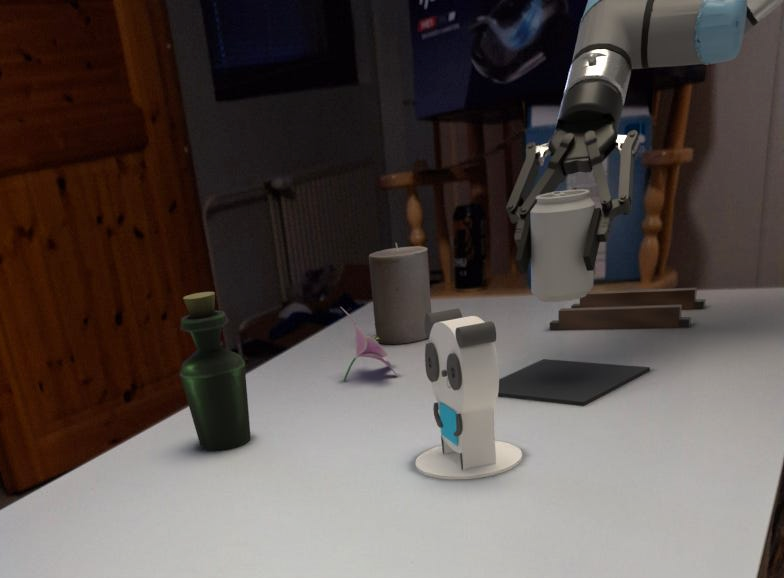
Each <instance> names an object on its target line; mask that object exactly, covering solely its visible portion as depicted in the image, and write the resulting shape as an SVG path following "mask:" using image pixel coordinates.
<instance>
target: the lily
mask: <svg viewBox="0 0 784 578" xmlns="http://www.w3.org/2000/svg"><path fill="white" fill-rule="evenodd" d="M340 309H341V310H342V311H343V312H344V313H345V314H346V315H347V316H348V318H349V320H350V322H351V323H352V325H353V326H354V331H355V356H354V357H353V359H352V361H351V362H350V363H349V366H348V368H347V371H346V373H345V375H344V378H343V380H342V381H343V382H346V380H347V378H348V375H349V373H350V370H351V368H352V366H353V364H354V363H355V362H356V360H357V359H358V358H359V357H360V358H361V357H362V358H371V359H375V360H378V361H381V362H382V363H383V364H384V365H386V366H387V367H388V368H389V369H390V370H391V371H392V372H393V373H394V374H395V375H397V373H396V371H395V370H394V369H393V367H392V364H391V362H390V361H389V360H387V359H386V358H385V357H387V356H388V353H387V351H385V349H384V348H383V346H382V345H381V343H378V342H379V341H376V340H377V338H378V339H380V338H379V337H377V338H376V334H373V337H372V336H370V335H365V334H364V333H363V331H362V330H361V329H360V328H359V327H358V326H357V323H356V322H355V320H354V318H353V316H352V315H350V314H349V313H348V311H346V310H345V309H344V308H343V307H342V306H340Z"/></svg>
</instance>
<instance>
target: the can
mask: <svg viewBox="0 0 784 578" xmlns="http://www.w3.org/2000/svg"><path fill="white" fill-rule="evenodd" d="M590 193H591V191H590V190H589V189H582V188H581V189H569V190H559V191H557V190H555V191H554V192H551V193H546V194H542V195H539V196H537V197H536V199H537V203H536V204H535V206H534V207H533V209H532V210H531V211H530V220H531V257H530V291H531V292H530V293H531V294H532V295H533V296H534V297H536V299H537V300H538V301H540V302H545V303H561V302H569V301H576V300H580V298H583V297H585V296H586V295H587V293H588V292H591V290H592V289H593V288H594V286H595V285H594V284H595V283H594V280H595V279H594V278H595V269H594V270H593V271H587V269H586V266H585V263H584V259H583V254H584V250H585V245H586V241H587V237H588V232H589V228H590V224H591V220H592V215H593V212H594V208H596V203H595V202H594V200H593V199H591V197H590V196H589V194H590Z"/></svg>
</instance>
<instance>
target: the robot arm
mask: <svg viewBox="0 0 784 578" xmlns="http://www.w3.org/2000/svg"><path fill="white" fill-rule="evenodd" d="M782 3H784V0H587V3H586V6H585V9H584V11H583V15H582V17H581V19H580V23H579V26H578V33H577V38H576V43H575V47H574V50H573V55H572V60H571V63H570V68H569V71H568V75H567V80H566V83H565V88H564V91H563V97H562V100H561V103H560V107H559V111H558V115H557V120H556V124H555V128H554V129H555V130H554V133H553V134H552V136H551V137H550V139H549V140H548V142H547V143H542V144H540V145H539V144H538V145H537V144H536V142H534V141H530V142H528V143H527V144H526V145H525V159H524V162H523V164H522V167H521V169H520V172H519V174H518V177H517V179H516V182H515V184H514V186H513V189H512V191H511V193H510V197H509V199H508V202H507V204H506V207H505V211H506V212H507V214H508V217H509V220H510V222H511V223H512V224H516V227H515V231H514V236H513V238H514V242H515V245H516V247H517V251H516V256H515V259H514V262H515V264H516V267H517V269H518V271H519V274H520V275H527V273H528V269H529V265H530V262H531V220H530V211H531V210H532V209H533V207H534V206H535V204H536V203H537V199H536V197H537V196H539V195H542V194H546V193H551V192H555V191H557V188H558V187H559V186H560V184H562V183H564V182H565V180H566V179H567V178H568V176H569V175H574V174H577V173H585V174H586V173H593V177H594V181H595V186H596V189H597V193H598V197H599V201H600V206H601V207H595V208H594V212H593V215H592V220H591V224H590V228H589V232H588V237H587V241H586V245H585V250H584V254H583V259H584V263H585V266H586V269H587V271H593V270H594V271H595V265H596V261H597V258H598V257H597V256H598V252H599V248H600V244H601V243H607V242H608V240H609V239H610V235H611V230H612V227H613V221H614V220H615V218H616V217H617V216H619V215H623V216H628V215H630V214H631V213H632V210H633V194H634V192H633V191H634V174H635V173H634V172H635V161H636V158H637V157H638V154H639V152H640V150H641V144H640V139H639V134H638V133H639V132H638V131H637V130H635V129H632V130H630V131H628V132H627V134H619V133H618V131H619V127H620V123H621V119H622V114H623V110H624V106H625V101H626V96H627V92H628V88H629V85H630V79H631V76H632V70H641V69H643V70H644V69H650V68H664V67H665V68H667V67H682V66H683V67H684V66H694V65H695V66H697V65H705V66H709V65H715V64H717V63H725V62H730V61H733V60H735V59H736V58H737V57H738V56H739V54H740V51H741V47H742V44H743V39H744V35H745V34H746V33H748V32H749V31H750V30H752V29H753V28H754V27H755V26H756V25H757V24H758V23H759V22H761V21H762V20H763V19H764V18H766V17H767V16H768V15H769V14H770V13H772V12H773V11H774V10H775V9H776V8H778V7H779V6H780V5H781V4H782ZM617 148H618V153H619V155H620V157H619V158H620V160H619V177H618V191H617V192H618V193H617V194H618V196H617V198H614V199H612V196H611V192H610V188H609V183H608V181H607V176H606V172H605V168H604V165H603V164H604V163H603V162H604V161H605V160H607V158H608V157H609V156H610V155H611V154H612V153H613V152H614V151H615V150H617ZM548 156H551V157H550V159H549V161H548V164H547V168H546V170H545V171H544V172H543V174H542V175H541V177H540V178H539V180H538V181H537V178H538V176H539V174H540V169H541V167H543V166H544V162H545V160H546V158H547V157H548ZM536 181H537V183H536Z"/></svg>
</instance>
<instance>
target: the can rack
mask: <svg viewBox="0 0 784 578" xmlns="http://www.w3.org/2000/svg"><path fill="white" fill-rule="evenodd" d="M697 293H698V287H678V288H677V287H676V288H674V287H673V288H653V289H630V290H629V289H628V290H627V289H626V290H604V291H589V292H588V293H587V295H586V296H585V297H583V298H579V303H573V304H572V305H571V306H570V307H562V308H560V309H559V310H558V319H556V320H554V319H553V320H551V321H550V322H549V331H577V330H578V331H580V330H586V331H587V330H625V329H627V330H628V329H633V330H634V329H670V328H672V329H673V328H675V329H676V328H681V329H682V328H690V327H691V325H692V316H682V313H683V312H682V311H684V310H704V309H705V307H706V301H707V300H706V298H701V299H700V298H699V299H697Z"/></svg>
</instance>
